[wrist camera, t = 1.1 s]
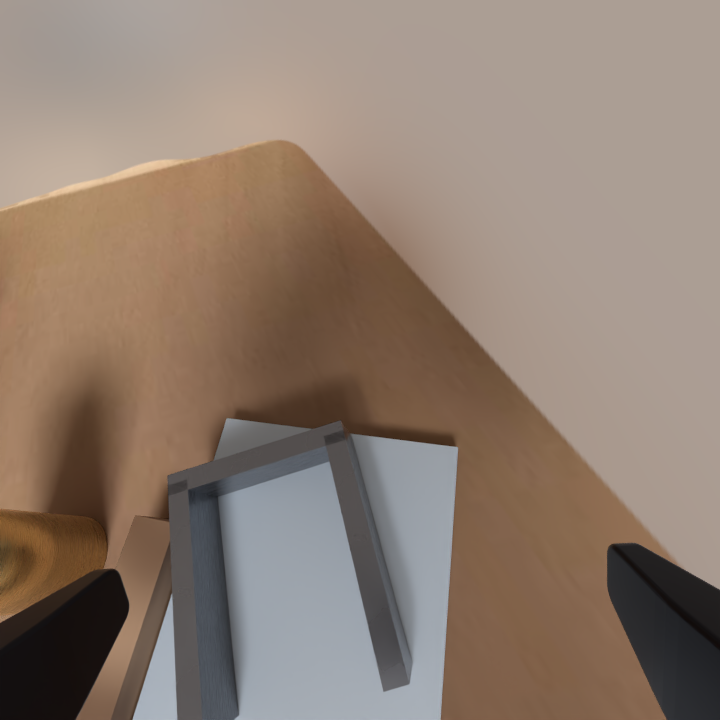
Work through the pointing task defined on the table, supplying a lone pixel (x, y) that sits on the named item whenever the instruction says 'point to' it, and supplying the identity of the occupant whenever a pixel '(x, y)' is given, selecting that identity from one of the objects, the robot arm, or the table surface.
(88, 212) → the table surface
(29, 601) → the gold cylinder
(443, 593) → the door panel
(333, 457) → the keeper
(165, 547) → the strip
